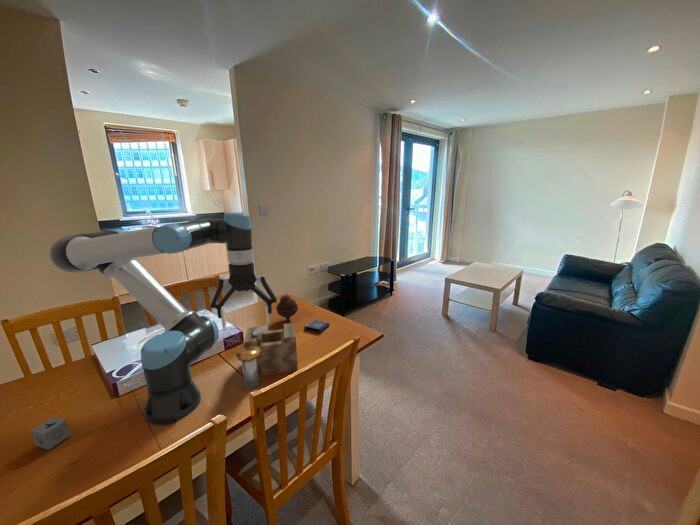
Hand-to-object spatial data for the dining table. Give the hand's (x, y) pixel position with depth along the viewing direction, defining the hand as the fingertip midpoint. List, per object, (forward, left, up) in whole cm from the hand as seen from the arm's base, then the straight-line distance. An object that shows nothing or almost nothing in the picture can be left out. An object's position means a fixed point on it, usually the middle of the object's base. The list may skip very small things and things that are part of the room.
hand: (246, 324), depth 98 cm
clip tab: (+1, +11, -9) cm, 14 cm away
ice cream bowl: (+13, +46, -23) cm, 53 cm away
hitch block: (+7, +11, -22) cm, 26 cm away
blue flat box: (+25, +32, -23) cm, 47 cm away
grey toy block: (-51, -12, -23) cm, 57 cm away
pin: (0, 0, -23) cm, 23 cm away
